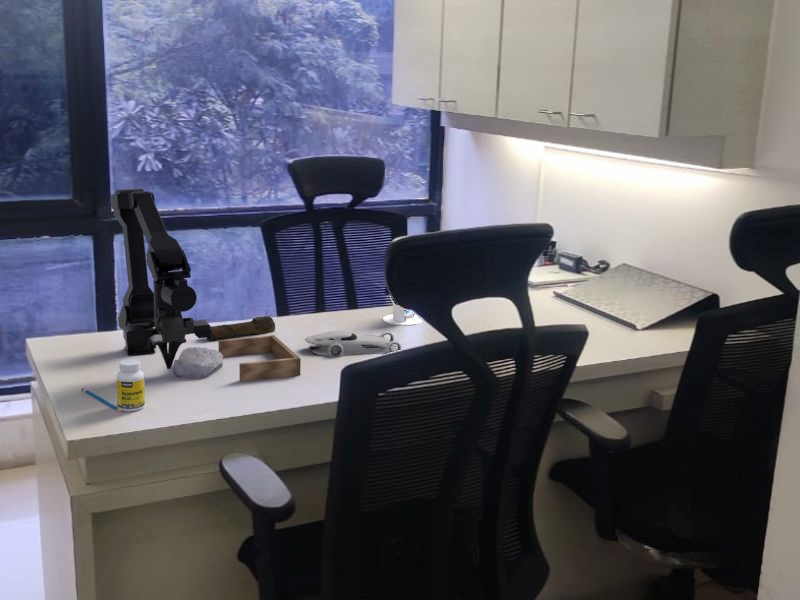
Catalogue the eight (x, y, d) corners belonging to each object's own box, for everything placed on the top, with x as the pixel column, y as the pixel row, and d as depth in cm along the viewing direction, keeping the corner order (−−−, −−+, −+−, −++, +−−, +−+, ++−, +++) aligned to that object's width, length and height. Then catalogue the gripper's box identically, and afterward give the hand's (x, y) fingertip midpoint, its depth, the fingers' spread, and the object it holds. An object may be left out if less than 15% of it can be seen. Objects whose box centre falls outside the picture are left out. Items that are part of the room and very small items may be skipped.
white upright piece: (411, 328, 249) (413, 275, 245) (375, 322, 253) (376, 270, 250) (429, 318, 259) (431, 267, 256) (393, 313, 264) (395, 263, 260)
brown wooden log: (209, 343, 229) (209, 325, 228) (204, 339, 233) (204, 321, 232) (278, 335, 239) (278, 318, 238) (273, 331, 242) (273, 314, 241)
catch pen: (240, 381, 201) (240, 364, 200) (218, 356, 218) (218, 340, 217) (300, 375, 207) (300, 358, 206) (274, 350, 224) (274, 335, 223)
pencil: (85, 391, 193) (85, 387, 193) (124, 413, 181) (124, 410, 181) (81, 391, 192) (81, 388, 192) (120, 414, 180) (120, 411, 180)
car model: (404, 355, 225) (405, 336, 224) (307, 359, 220) (307, 339, 219) (394, 342, 236) (395, 324, 235) (302, 345, 230) (302, 326, 229)
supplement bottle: (119, 413, 180) (117, 367, 178) (116, 404, 185) (114, 359, 182) (147, 410, 182) (145, 364, 180) (143, 401, 187) (141, 356, 184)
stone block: (224, 370, 214) (183, 360, 214) (227, 351, 213) (186, 341, 213) (213, 388, 203) (169, 378, 202) (216, 369, 201) (172, 358, 201)
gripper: (129, 313, 189) (131, 383, 192) (217, 307, 196) (218, 375, 200) (121, 300, 199) (124, 368, 202) (206, 295, 206) (206, 360, 210)
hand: (168, 368), depth 203 cm, fingers closed
